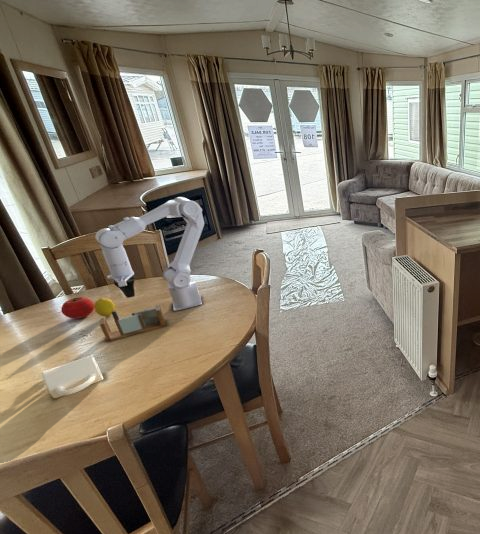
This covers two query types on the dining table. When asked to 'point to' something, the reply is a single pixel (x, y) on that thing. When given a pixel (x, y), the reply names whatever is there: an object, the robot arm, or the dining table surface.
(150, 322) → the window frame
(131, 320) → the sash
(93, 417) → the dining table surface
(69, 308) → the tomato
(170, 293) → the robot arm
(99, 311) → the lemon
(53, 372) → the white box with handle
